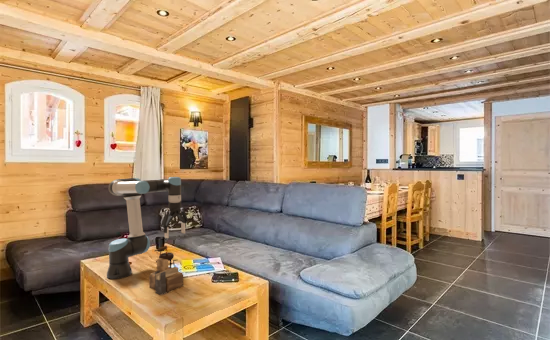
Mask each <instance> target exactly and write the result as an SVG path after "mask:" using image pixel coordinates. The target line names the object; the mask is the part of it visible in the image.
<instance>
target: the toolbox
mask: <svg viewBox="0 0 550 340" xmlns="http://www.w3.org/2000/svg"><path fill="white" fill-rule="evenodd" d="M154 272H155V277H152V276H150V275H149V276H148V278H149V279H148V281H149V282H148V283H149V284H148V285H149V289H152V290H155V292H154V293H155V294H158V295H160V296H164V295H165V294H169V293H171V292H173V291H176V290H178V289H179V288H181V287H184V274H183V275H181V276H178V277H176V278H174V279H171V280H169V281H167V280H166V272H162V273H160V270H159V271H157V270H156V271H154ZM157 273H160V280H156V274H157Z"/></svg>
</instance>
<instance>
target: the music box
mask: <svg viewBox="0 0 550 340" xmlns="http://www.w3.org/2000/svg"><path fill="white" fill-rule="evenodd" d="M164 251H165V252H164ZM153 252H156V255H158V254H159V255H158V259H159V258H162V259H167V260H168V262H169V266H168V267H169V269H170V268H173V267H172V265H175V261H177V259H174V257H175V256H174V253H173V252H168V246H167V245H165V246H161V247H159V248H157V249H155V250H154V251H153ZM158 252H159V253H158ZM155 263H156V264H157V259H156V260H155Z"/></svg>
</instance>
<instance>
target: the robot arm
mask: <svg viewBox="0 0 550 340" xmlns="http://www.w3.org/2000/svg"><path fill="white" fill-rule="evenodd" d="M108 192H109V193H110V194H112V196H117V197H119V196H120V197H121V196H123V199H124V200H125V201H126V209H127V220H128V228H129V230H128V231H129V235H127V238H125V237H124V238H118V239H115V240H112V241H110V242H109V244H108V261H109V262H108V264H109V265H108V267H107V272H106V278H107V279H109V278H110V280H117V279H124V278H126V277H129V276H131V275H132V273H133V272H132V271H133V270H132V267H131V264H130V262H129V261H130V260H129V258H130V257H134V256H137V255H142V254H144V253H147V252H148V251H149V249H150V246H151V239H150V238H149V236H147V235H146V233H145V232H144V229H143V220H142V209H141V201H140V199H141V197H142V195H143V194H144V195H145V194H149V193H158V192H167V193H168V209H169V210H165V211H164V215H163V218H162V221H161V224H160V227H162V228H163V233H164V238H165V239H169V238H170V237H169V230H170V229H169V228H170V227H169V225H170V223H171V222H172V219H174V218H176V217H177V218H178V219H179V220H180V221H181V224H180V225H181V227H180V228H181V229H180V233H181V234H186V227H187V223H188V222H189V218H188V216H187V213H186V210H185V207H182V179H181V177H180V176H169V177H168V179H167V178H165V179H164V178H160V179H154V180H141V178H139V177H138V178H137V177H130V178H117V179H114V180H112V181H111V182H110V183H109V184H108Z"/></svg>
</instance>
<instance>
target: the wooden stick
mask: <svg viewBox="0 0 550 340" xmlns="http://www.w3.org/2000/svg"><path fill="white" fill-rule="evenodd" d="M163 272H166V277H169V276H171V275H173V274H176V273H178V272H179V267H177V266H174V267H172V268H170V269H168V270H165V271H163ZM160 273H162V272H160ZM160 273H157V274H156V280H160Z"/></svg>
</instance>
